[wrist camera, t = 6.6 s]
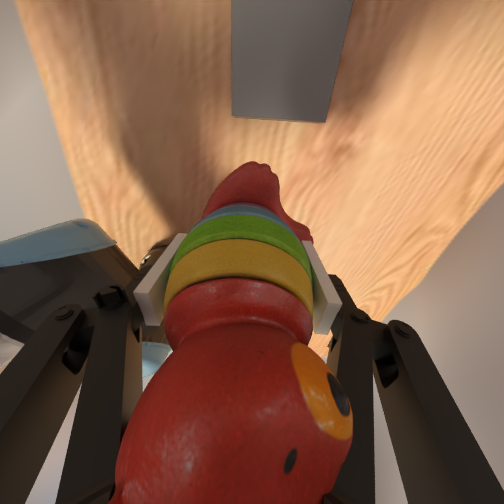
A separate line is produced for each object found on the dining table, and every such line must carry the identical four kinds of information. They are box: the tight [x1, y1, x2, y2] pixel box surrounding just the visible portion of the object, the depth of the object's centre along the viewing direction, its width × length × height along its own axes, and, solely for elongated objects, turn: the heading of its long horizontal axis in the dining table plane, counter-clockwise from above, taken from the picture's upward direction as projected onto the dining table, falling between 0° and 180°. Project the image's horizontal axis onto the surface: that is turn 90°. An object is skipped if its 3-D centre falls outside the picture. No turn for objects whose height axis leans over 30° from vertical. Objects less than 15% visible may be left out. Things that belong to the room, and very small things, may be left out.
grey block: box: [232, 0, 353, 123], centre depth 23 cm, size 13×14×4 cm
